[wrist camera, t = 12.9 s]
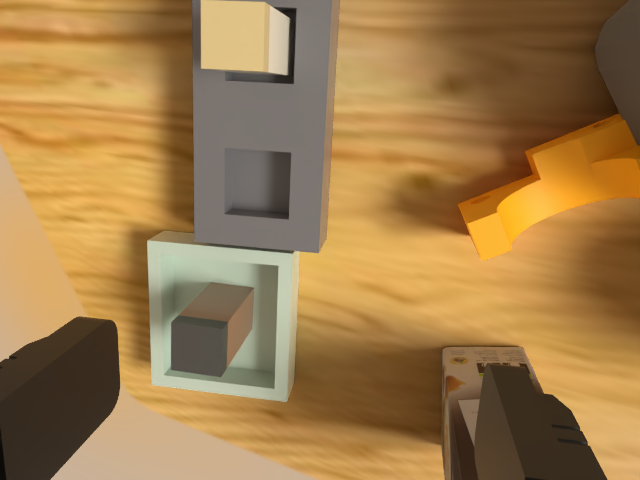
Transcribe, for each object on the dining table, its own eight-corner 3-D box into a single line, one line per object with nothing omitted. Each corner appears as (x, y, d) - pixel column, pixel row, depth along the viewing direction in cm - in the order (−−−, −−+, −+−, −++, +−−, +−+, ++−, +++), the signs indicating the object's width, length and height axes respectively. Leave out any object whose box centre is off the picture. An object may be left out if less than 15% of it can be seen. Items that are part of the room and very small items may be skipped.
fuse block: (212, -21, 39) (191, -34, 35) (340, -18, 38) (333, -30, 34) (212, 228, 43) (194, 241, 40) (326, 238, 42) (318, 252, 39)
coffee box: (439, 344, 43) (458, 484, 28) (524, 345, 42) (593, 490, 27) (439, 448, 46) (458, 628, 30) (521, 450, 45) (582, 639, 29)
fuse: (242, 18, 37) (200, -1, 30) (293, 20, 37) (264, 1, 29) (241, 73, 38) (201, 68, 30) (291, 75, 38) (263, 71, 30)
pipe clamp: (619, 112, 37) (662, 116, 31) (638, 171, 38) (684, 187, 32) (448, 181, 40) (456, 198, 34) (470, 235, 41) (481, 261, 35)
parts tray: (164, 230, 44) (147, 240, 41) (300, 242, 43) (292, 253, 40) (167, 366, 47) (151, 385, 44) (294, 382, 46) (286, 402, 43)
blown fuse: (211, 282, 44) (171, 322, 36) (254, 287, 44) (222, 329, 36) (210, 322, 45) (170, 369, 37) (252, 328, 45) (221, 377, 37)
